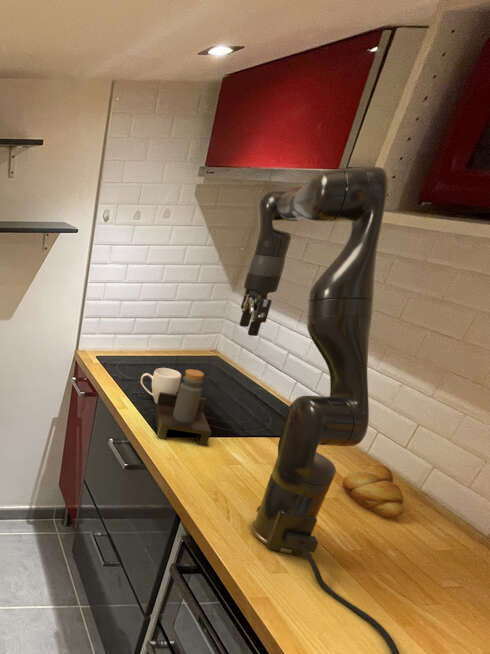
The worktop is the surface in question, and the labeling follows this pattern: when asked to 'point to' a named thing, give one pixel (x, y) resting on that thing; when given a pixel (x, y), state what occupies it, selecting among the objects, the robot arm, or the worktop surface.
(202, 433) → the dark brown legged piece
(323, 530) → the worktop surface
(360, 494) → the bread roll
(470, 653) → the worktop surface
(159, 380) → the mug
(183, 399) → the bottle
